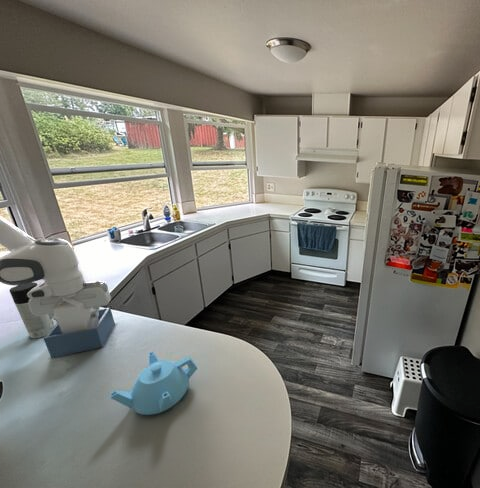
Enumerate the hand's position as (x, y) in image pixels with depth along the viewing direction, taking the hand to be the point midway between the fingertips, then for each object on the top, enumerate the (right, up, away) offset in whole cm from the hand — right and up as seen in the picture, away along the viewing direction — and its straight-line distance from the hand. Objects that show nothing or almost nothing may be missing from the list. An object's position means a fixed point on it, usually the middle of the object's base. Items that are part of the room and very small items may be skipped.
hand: (79, 319), depth 89 cm
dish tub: (0, -8, +3) cm, 9 cm away
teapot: (+41, -17, -17) cm, 47 cm away
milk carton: (0, -8, +3) cm, 8 cm away
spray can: (-19, -7, +5) cm, 21 cm away
